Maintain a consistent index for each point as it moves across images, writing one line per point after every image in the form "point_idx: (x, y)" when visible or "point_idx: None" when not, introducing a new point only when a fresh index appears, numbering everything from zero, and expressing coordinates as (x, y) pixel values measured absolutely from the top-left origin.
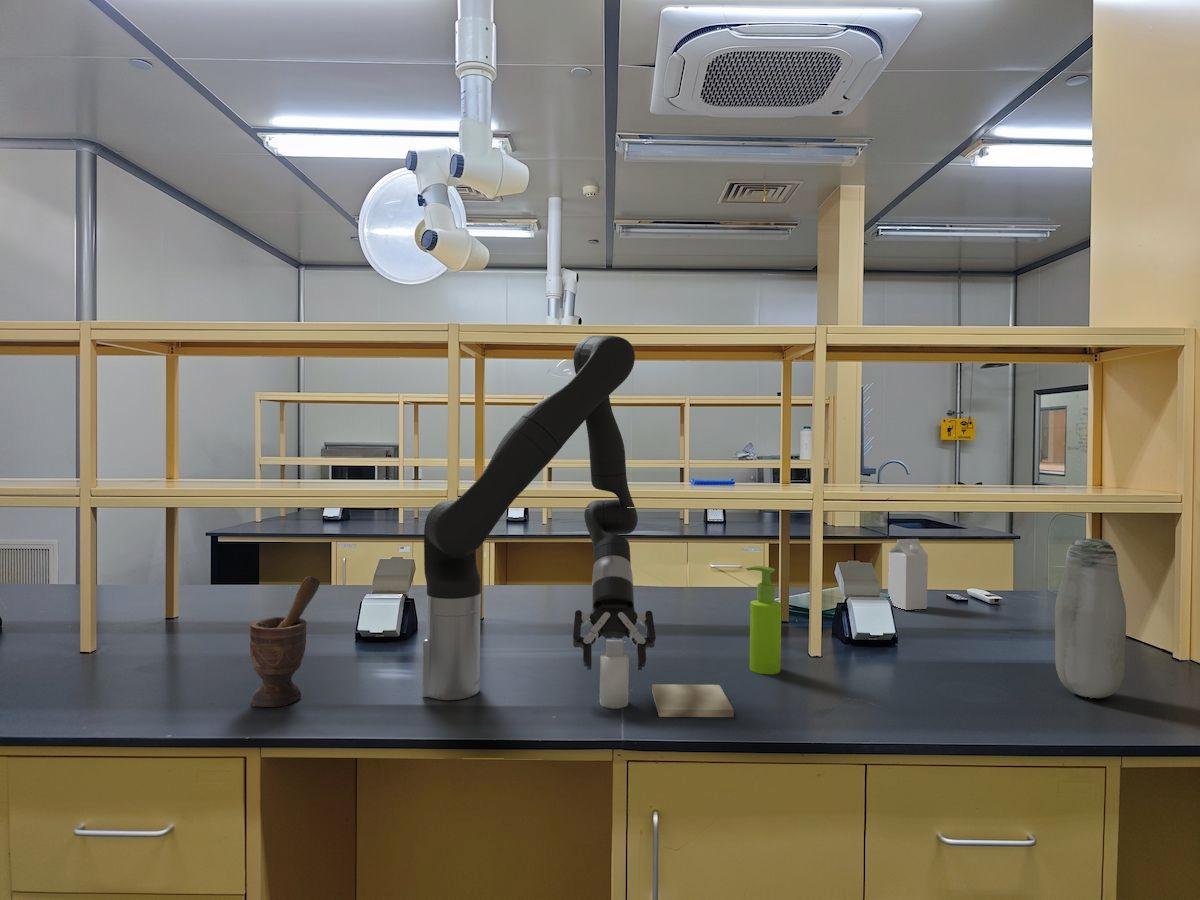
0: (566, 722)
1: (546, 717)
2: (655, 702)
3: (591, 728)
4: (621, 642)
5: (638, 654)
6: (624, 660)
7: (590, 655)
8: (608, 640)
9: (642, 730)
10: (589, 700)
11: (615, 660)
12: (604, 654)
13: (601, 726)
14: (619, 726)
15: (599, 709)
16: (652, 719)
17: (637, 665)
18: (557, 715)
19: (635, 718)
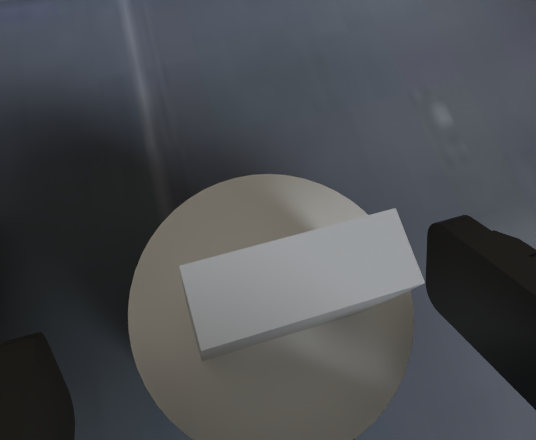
0: (372, 72)
1: (465, 100)
2: None
3: (260, 40)
4: (203, 262)
5: (20, 403)
6: (157, 232)
7: (487, 250)
8: (384, 247)
9: (47, 62)
10: None
11: (232, 180)
12: (381, 322)
13: (226, 65)
14: (153, 80)
15: None
16: (10, 186)
17: (69, 431)
18: (434, 129)
19: (95, 177)
